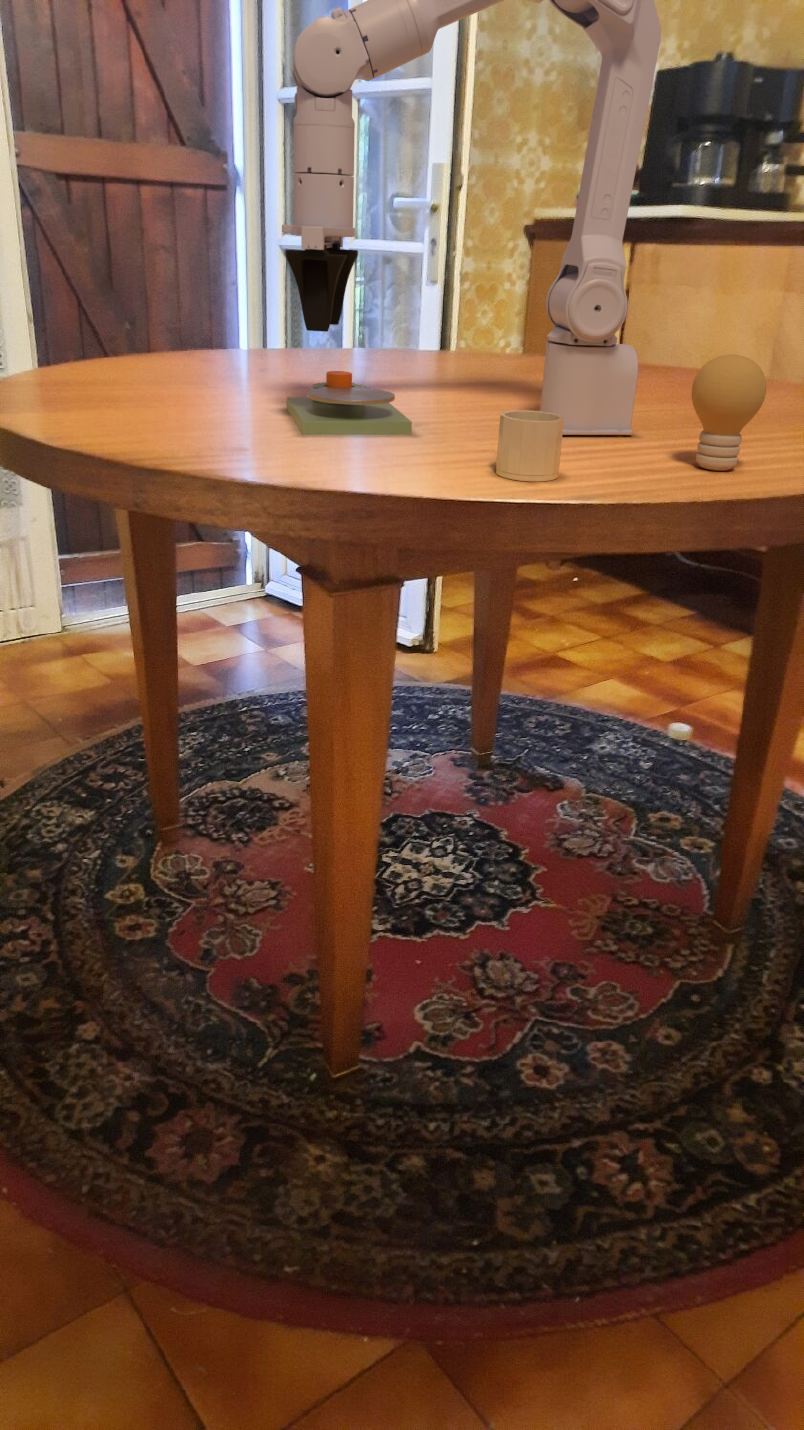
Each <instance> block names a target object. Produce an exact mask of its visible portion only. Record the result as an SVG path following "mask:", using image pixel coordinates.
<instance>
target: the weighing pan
mask: <svg viewBox="0 0 804 1430" xmlns="http://www.w3.org/2000/svg"><path fill="white" fill-rule="evenodd" d="M306 397H308V398H310V399H312V400H315V401H320V402H326V403H334V404H348V405H371V404H383V403H388V402H389V403H392V402H394V401H395V399H396V395H395V394H394V393H393V392H391V391H387V390H383V389H376V388H371V387H366V388H358V387H326V388H317V389H309V390H308V391H306Z"/></svg>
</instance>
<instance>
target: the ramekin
mask: <svg viewBox="0 0 804 1430" xmlns="http://www.w3.org/2000/svg"><path fill="white" fill-rule="evenodd" d="M498 425H499V426H498V439H497V452H496V461H495V462H496V465H495V468H496V469H495V473H496V475H497V476H499V477H502V478H503V479H504V478H505V479H507V480H512V481H519V482H531V483H532V482H533V483H534V482H535V483H536V482H549V481H553V480H557V479H558V477H559V471H560V464H561V454H562V445H563V436H564V435H563V427H564V417H563V416H561V415H558V414H554V413H549V412H542V411H540V410H527V409H526V410H525V409H523V410H520V409H519V410H518V409H517V410H516V409H515V410H507V411H503V412H500V415H499V424H498Z"/></svg>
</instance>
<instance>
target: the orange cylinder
mask: <svg viewBox="0 0 804 1430" xmlns="http://www.w3.org/2000/svg"><path fill="white" fill-rule="evenodd" d="M325 375H326V376H325V379H326V380H325V382H326V387H352V383H353V373H352V372H350V371H346V370H345V371H343V370H329V371H327V372H326V373H325Z"/></svg>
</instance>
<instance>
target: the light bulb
mask: <svg viewBox="0 0 804 1430" xmlns="http://www.w3.org/2000/svg"><path fill="white" fill-rule="evenodd" d="M766 395H767V380H766V376H765V373H764V371H763V369H762V368H761V366H760V365H759V364H758V363H757V362H755V360H753V359H751V358H749V357H747V356H744V355H740V354H724V355H719V356H717V357H715V358H712V359H710V360H708V361H707V362H706V363H705V364H703V366H702V367H701V368H700V369H699V371H698V372H697V374H696V376H695V377H694V380H693V381H692V387H691V402H692V406H693V409H694V411H695V414H696V416H697V417H698V419H699V421H700V423H701V425H702V429H703V430H702V431H700V433H699V436H698V439H699V442H698V444H697V453H696V454H695V462H696V463H697V464H698V466H699V467H701V468H703V469H706V470H710V471H723V472H724V471H730V470H732V469H733V468H735V467H736V466H737V465H738V461H739V457H738V455H739V454H740V451H741V447H740V445H741V443H742V441H743V439H742V438H743V437H742V435H741V434H740V433H741V431H742V430H743V429H744V428H745V427H746V426H747V424H748V423H750V422H751V420H752V419H753V418H754V417H755V416H756V415H757V414H758V412H759V411H760V409H761V407H762V406H763V404H764V401H765V398H766Z"/></svg>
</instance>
